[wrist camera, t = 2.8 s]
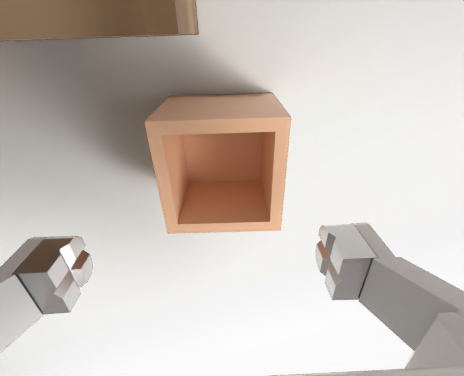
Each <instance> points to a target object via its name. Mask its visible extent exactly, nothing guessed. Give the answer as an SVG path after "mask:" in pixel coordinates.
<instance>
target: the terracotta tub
mask: <svg viewBox="0 0 464 376" xmlns="http://www.w3.org/2000/svg"><path fill="white" fill-rule="evenodd" d="M144 123H145V128H146V133H147V138H148V142H149V147H150V152H151V157H152V161H153V166H154V171H155V175H156V180H157V185H158V190H159V194H160V199H161V204H162V209H163V213H164V218H165V223H166V228H167V232H168V234H171V233H206V232H240V231H274V230H281V222H282V211H283V200H284V189H285V179H286V168H287V157H288V146H289V135H290V124H291V116H290V115H289V113H288V112H287V111H286V110H285V108H284V107H283V106H282V104H281V103H280V102H279V100H278V99H277V98H276V97H275V95H274V94H273V93H260V94H229V95H198V96H169V97H168V98H167V99H166V100H165V101H164V102H163V103H162V104H161V105H160V106H159V107H158V108H157V109H156V110H155V111H154V112H153V113H152V114H151V115H150V116H149V117H148V118H147V119H146V120H145V121H144Z"/></svg>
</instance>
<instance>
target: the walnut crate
mask: <svg viewBox="0 0 464 376" xmlns="http://www.w3.org/2000/svg"><path fill="white" fill-rule="evenodd" d="M171 35H199V34H198V22H197V10H196V0H0V41H24V40H53V39H83V38H112V37H141V36H171Z"/></svg>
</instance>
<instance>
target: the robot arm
mask: <svg viewBox="0 0 464 376" xmlns="http://www.w3.org/2000/svg"><path fill="white" fill-rule="evenodd" d="M318 235H319V237H320V239H321V241H320V242H319V243H318V244H317V245H316V261H317V265H318V268H319V270H320V272H321V273H322V274H324V275H325V276H326V278H325V285H326V287H327V289H328V292H329V294H330V296H331V299H332V300H358V299H359V302H360V303H362V304H363V305H364V306H365V307H366V308H367V309H368V310H369V311H370V312H372V313H373V314H374V315H375V316H376V317H377V318H378V319H379V320H380V321H382V322H383V323H384V324H385V325H386V326H387V327H388V328H389V329H390V330H392V331H393V332H394V333H395V334H396V335H397V336H398V337H399V338H400V339H402V340H403V341H404V342H405V343H406V344H407V345H408V346H409V347H410V348H412V349H413V350H414V353H413V354H412V356H411V358H410V359H409V361H408V362H407V364H406V367H405V369H391V370H371V371H352V372H332V373H312V374H292V375H271V376H464V291H462V290H460V289H458V288H457V287H455V286H453V285H451V284H449V283H447V282H446V281H444V280H442V279H440V278H438V277H436V276H434V275H433V274H431V273H429V272H427V271H425V270H423V269H422V268H420V267H418V266H416V265H414V264H412V263H410V262H409V261H407V260H405V259H403V258H401V257H395V256H394V254H393V253H392V252H391V251H390V249H389V248H388V247H387V246H386V245H385V243H384V242H383V241H382V240H381V238H380V237H379V236H378V235H377V233H376V232H375V231H374V230H373V228H372V227H371V226H370V225H369V224H367V223H354V224H342V225H322V226H321V227H320V229H319V234H318ZM84 247H85V243H84V241H83V239H82V237H79V236H58V237H33V238H31V239H28V240H27V241H26V242H25V243H24V244H23V245H22V246H21V247H20V248H19V249H18V250H17V251H16V252H15V253H14V254H13V255H12V256H11V257H10V258H9V259H8V260H7V261H6V262H5V263H4V264H3V265H2V266H1V267H0V353H1V352H2V351H3V350H4V349H6V348H7V347H8V346H9V345H10V344H11V343H12V342H14V341H15V340H16V339H17V338H18V337H19V336H20V335H22V334H23V333H24V332H25V331H26V330H27V329H28V328H30V327H31V326H32V325H33V324H34V323H35V322H36V321H38V320H39V319H40V318H41V317H42V316H43V315H42V314H54V313H68V312H71V310H72V308H73V307H74V305H75V303H76V301H77V300H78V298H79V296H80V294H81V293H80V289H79V288H80V287H82V286H83V285H84V284H86V283H87V282H88V280H89V278H90V276H91V273H92V268H93V264H92V259H91V256H90V254H88V253H87V252H85V251H84V250H83V249H84Z"/></svg>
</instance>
